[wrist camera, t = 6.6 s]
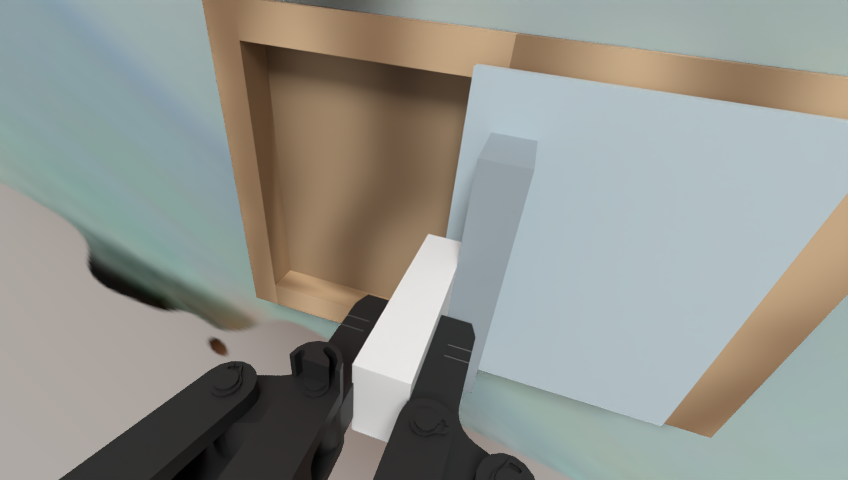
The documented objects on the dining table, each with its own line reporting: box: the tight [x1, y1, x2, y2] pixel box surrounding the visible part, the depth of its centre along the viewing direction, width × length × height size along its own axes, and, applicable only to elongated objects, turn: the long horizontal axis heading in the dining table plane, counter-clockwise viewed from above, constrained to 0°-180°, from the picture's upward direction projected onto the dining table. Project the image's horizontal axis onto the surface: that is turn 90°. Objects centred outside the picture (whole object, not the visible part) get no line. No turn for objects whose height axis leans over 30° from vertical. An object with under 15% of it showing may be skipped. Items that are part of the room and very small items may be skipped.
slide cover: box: [446, 64, 848, 427], centre depth 14 cm, size 12×14×4 cm
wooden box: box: [202, 0, 848, 438], centre depth 17 cm, size 26×16×2 cm, turn 82°
